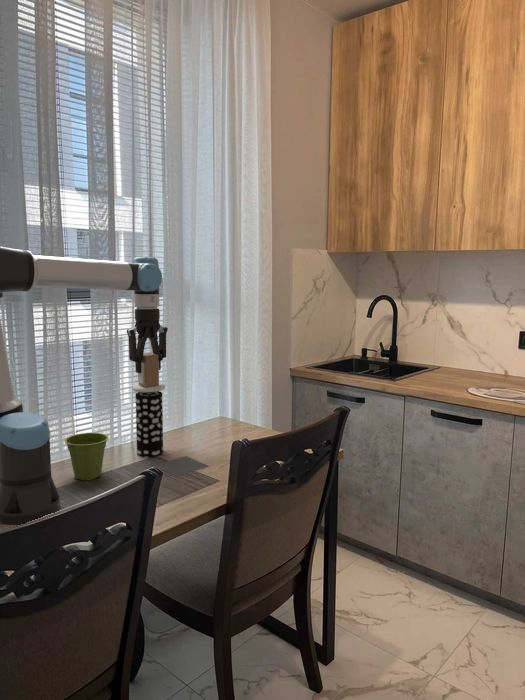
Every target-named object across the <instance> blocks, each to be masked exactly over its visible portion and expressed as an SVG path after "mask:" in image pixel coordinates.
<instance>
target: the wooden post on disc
mask: <svg viewBox="0 0 525 700" xmlns="http://www.w3.org/2000/svg"><path fill="white" fill-rule="evenodd" d="M142 362H143V363H144V374H145V383H144V384H142V383H138V382H137V383H135V384H133V385H132V391H133V392H136V393H138V392H157V391H159V392H162V391H164V390H165V389H166V386H165V384H164V383H163V382H160V370H159V369H158V354H153V352H146V353H145V352H144V353H143V359H142Z"/></svg>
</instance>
